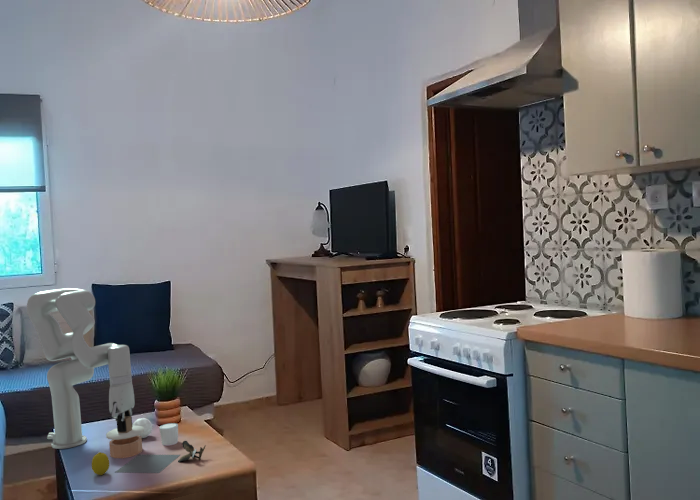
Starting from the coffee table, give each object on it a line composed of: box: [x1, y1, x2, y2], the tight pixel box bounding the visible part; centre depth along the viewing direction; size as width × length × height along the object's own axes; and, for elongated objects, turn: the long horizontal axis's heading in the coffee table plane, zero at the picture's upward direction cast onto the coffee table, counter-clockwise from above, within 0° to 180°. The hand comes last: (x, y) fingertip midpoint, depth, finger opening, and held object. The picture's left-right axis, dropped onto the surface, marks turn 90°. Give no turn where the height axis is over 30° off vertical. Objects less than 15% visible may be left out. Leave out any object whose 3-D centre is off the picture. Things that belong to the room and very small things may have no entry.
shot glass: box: [158, 422, 179, 446], centre depth 239 cm, size 7×7×7 cm
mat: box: [114, 454, 181, 474], centre depth 219 cm, size 16×16×1 cm
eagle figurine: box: [177, 440, 207, 463], centre depth 220 cm, size 8×7×9 cm
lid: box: [105, 416, 144, 441], centre depth 231 cm, size 13×13×6 cm
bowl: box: [108, 435, 143, 459], centre depth 231 cm, size 11×11×5 cm
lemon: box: [91, 451, 110, 476], centre depth 211 cm, size 6×6×8 cm
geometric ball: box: [132, 417, 153, 439], centre depth 249 cm, size 8×8×8 cm
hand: (125, 429), depth 231 cm, fingers closed on lid, 3 cm apart
